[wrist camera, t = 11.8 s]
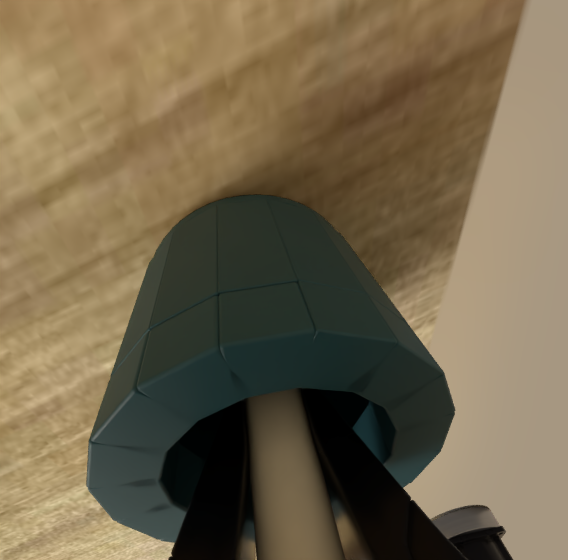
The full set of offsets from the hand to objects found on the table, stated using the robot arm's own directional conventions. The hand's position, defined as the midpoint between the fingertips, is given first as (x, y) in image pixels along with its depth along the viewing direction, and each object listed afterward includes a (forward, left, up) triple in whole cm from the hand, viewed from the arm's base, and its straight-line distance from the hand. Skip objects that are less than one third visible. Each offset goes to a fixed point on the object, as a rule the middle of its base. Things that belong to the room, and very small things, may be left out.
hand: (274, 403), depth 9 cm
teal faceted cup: (0, 0, -5) cm, 5 cm away
